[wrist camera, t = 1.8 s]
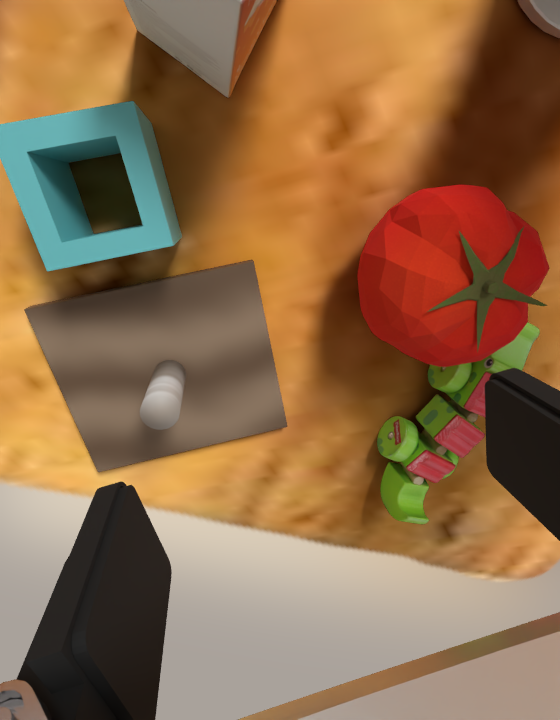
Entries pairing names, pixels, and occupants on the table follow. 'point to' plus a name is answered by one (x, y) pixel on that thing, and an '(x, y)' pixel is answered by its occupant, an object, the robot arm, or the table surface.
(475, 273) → the tomato
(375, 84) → the table surface
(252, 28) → the small box
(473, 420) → the toy crocodile
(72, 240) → the bead
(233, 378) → the post board
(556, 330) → the table surface
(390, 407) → the table surface
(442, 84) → the table surface
